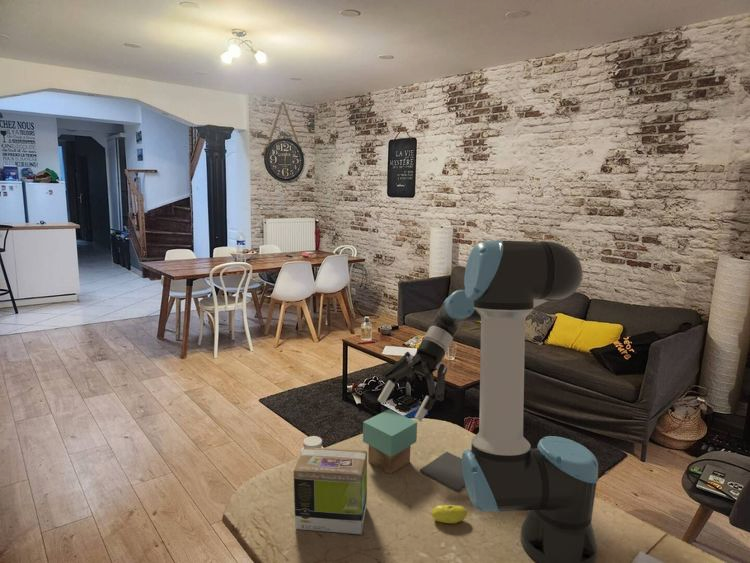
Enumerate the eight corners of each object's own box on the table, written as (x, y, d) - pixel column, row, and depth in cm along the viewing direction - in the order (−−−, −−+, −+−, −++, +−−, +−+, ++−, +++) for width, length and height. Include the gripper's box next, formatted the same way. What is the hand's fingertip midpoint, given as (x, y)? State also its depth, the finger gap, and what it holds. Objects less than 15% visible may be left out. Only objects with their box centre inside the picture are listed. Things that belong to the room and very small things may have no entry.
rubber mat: (484, 471, 130) (484, 469, 130) (458, 492, 122) (458, 489, 122) (446, 453, 138) (446, 451, 138) (420, 471, 130) (420, 469, 130)
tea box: (367, 506, 116) (368, 449, 113) (361, 536, 106) (362, 475, 103) (304, 500, 118) (303, 444, 114) (293, 530, 108) (292, 470, 105)
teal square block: (416, 441, 133) (417, 422, 132) (391, 456, 126) (391, 436, 124) (388, 428, 140) (388, 409, 138) (362, 441, 132) (363, 421, 131)
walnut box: (409, 461, 134) (411, 424, 132) (390, 474, 128) (391, 435, 126) (388, 450, 139) (389, 414, 137) (368, 461, 134) (368, 424, 131)
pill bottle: (317, 469, 130) (317, 431, 127) (329, 481, 125) (329, 442, 122) (296, 478, 126) (295, 438, 124) (308, 490, 121) (307, 450, 119)
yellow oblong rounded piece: (431, 513, 114) (431, 498, 113) (465, 515, 114) (466, 500, 113) (432, 526, 110) (432, 511, 109) (468, 528, 110) (469, 513, 109)
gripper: (476, 363, 136) (440, 432, 129) (407, 341, 153) (372, 401, 146) (466, 350, 131) (429, 421, 124) (396, 328, 148) (359, 390, 141)
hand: (398, 410), depth 135 cm, fingers open, 13 cm apart
